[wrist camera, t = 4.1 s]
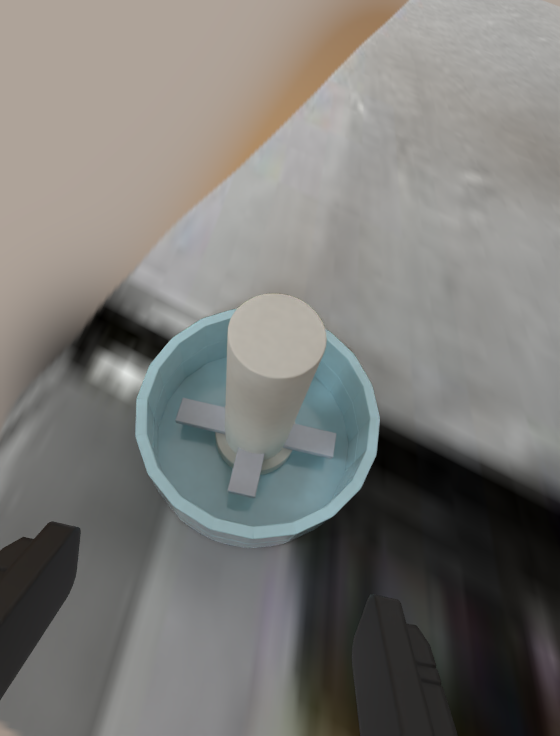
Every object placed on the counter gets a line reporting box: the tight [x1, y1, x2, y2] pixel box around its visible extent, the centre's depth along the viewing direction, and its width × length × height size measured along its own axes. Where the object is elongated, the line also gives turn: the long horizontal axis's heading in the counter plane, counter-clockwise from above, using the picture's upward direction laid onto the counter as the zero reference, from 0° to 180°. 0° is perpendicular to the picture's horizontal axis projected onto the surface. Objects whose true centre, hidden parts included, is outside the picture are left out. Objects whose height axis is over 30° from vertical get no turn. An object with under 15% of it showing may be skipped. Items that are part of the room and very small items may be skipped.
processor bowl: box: [135, 309, 380, 548], centre depth 27 cm, size 14×14×6 cm
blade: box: [175, 293, 337, 498], centre depth 23 cm, size 10×9×13 cm
